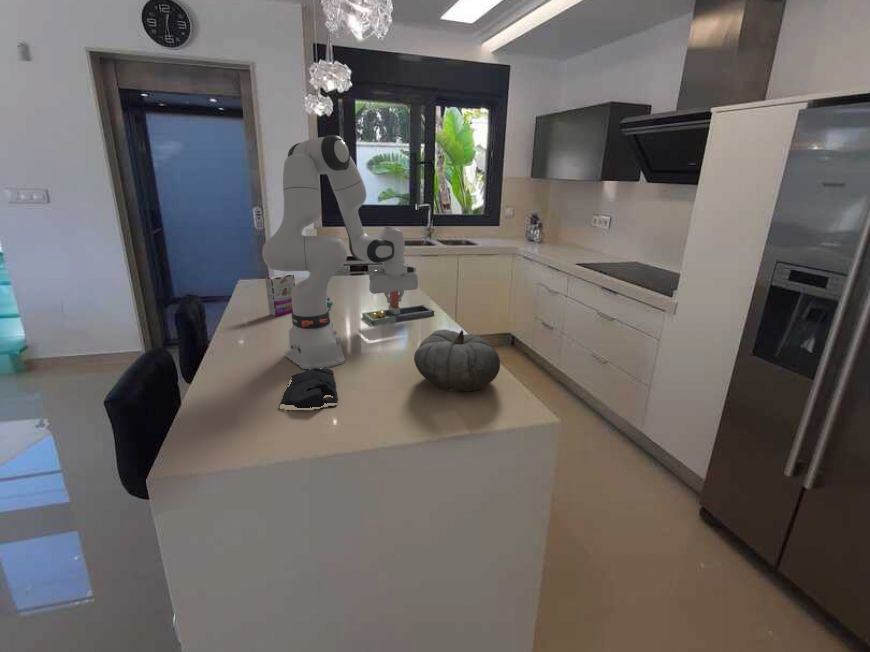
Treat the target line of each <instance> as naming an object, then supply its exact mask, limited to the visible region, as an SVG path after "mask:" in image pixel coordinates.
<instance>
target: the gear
mask: <svg viewBox="0 0 870 652" xmlns="http://www.w3.org/2000/svg"><path fill="white" fill-rule="evenodd" d="M330 300H331V298H330V297H328V295H327V310H332V306H333V305H334V303H333V302H332V301H331V302H330Z"/></svg>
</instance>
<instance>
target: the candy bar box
mask: <svg viewBox="0 0 870 652" xmlns="http://www.w3.org/2000/svg"><path fill="white" fill-rule="evenodd" d="M295 285H296V282H295V274H293V273H290V272H285V273H280V274H276V275H271V276H270V275H269V276H267V277H265V286H266V294H267V304H268V310H269V315H270V316H273V317H280V316H285V315H287V314H290V313H291V314H292V312H293V307H292V297H291V291H292V289H293V287H294V286H295Z"/></svg>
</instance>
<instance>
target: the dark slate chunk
mask: <svg viewBox="0 0 870 652" xmlns="http://www.w3.org/2000/svg"><path fill="white" fill-rule="evenodd" d="M334 374H335V373H334V370H333V369H330V368H322V369H320V368H313V369H310V370H304V371H302V372H299V373H295V374H293V375H291V377H292V379H291V380H292V382H291V384H290V386H289V387H287V386H286V387H287V389H286V388H285V389H286V391H285V390H284V391H285V392H283V394H284V395H282V397H283V399H282V398H281V401H282V402H280V404H285V405H294V406H295V407H297V408H310V407H311V408H312V407H321V406H323V405H324V403H326V404H327V403H337V402H338V401H339V398H338V397H339V396H338V392H337V389H336V388H337V385H336V384H337V382H336V379H335V376H334ZM325 395H331V396H333V398H331V397H330V398H324V399H323V397H324V396H325Z"/></svg>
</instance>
